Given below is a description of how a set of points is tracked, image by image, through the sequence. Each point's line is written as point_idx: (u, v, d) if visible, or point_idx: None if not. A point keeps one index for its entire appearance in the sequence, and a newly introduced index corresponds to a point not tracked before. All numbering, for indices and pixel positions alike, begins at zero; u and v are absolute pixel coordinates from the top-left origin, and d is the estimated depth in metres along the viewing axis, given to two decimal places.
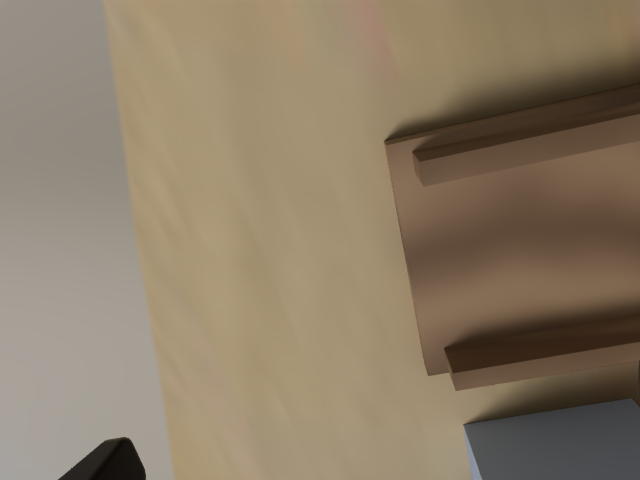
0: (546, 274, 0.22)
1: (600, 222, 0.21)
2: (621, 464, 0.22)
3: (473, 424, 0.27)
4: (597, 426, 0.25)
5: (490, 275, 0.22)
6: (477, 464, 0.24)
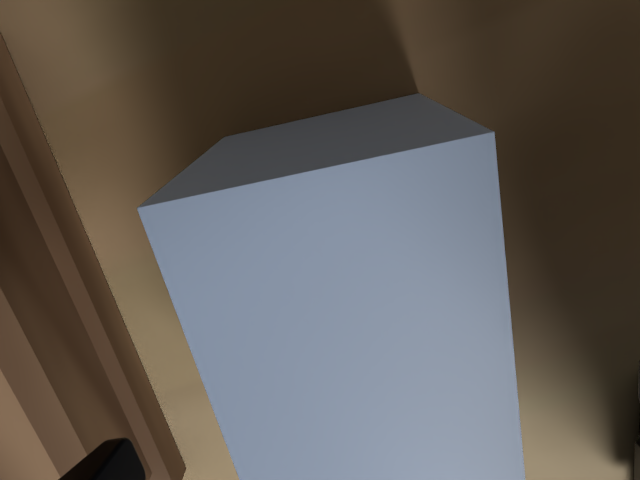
0: None
1: None
2: None
3: None
4: None
5: None
6: None
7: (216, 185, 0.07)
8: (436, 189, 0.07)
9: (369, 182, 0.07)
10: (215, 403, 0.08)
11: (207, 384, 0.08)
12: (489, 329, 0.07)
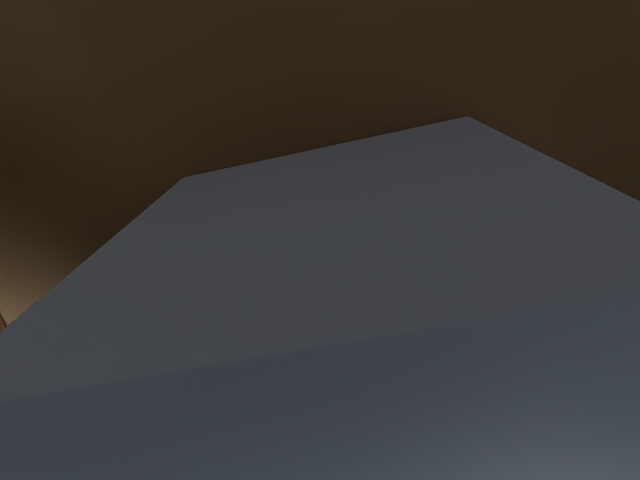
0: None
1: None
2: None
3: None
4: None
5: None
6: None
7: (91, 354, 0.03)
8: (604, 390, 0.03)
9: (442, 374, 0.03)
10: None
11: None
12: None
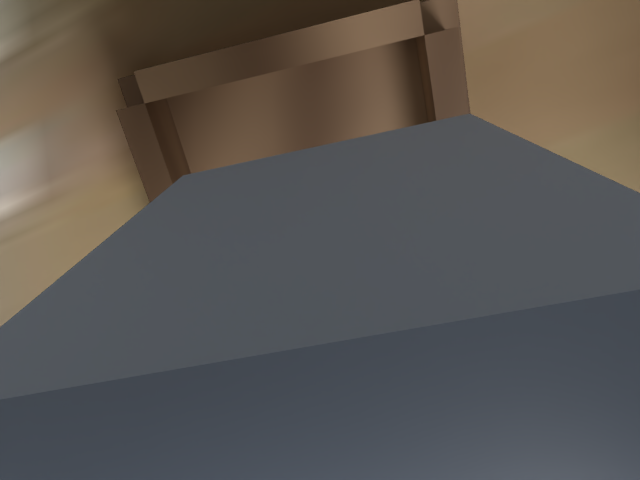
0: None
1: None
2: None
3: None
4: None
5: None
6: None
7: (89, 352, 0.03)
8: (612, 388, 0.03)
9: (446, 374, 0.03)
10: None
11: None
12: None
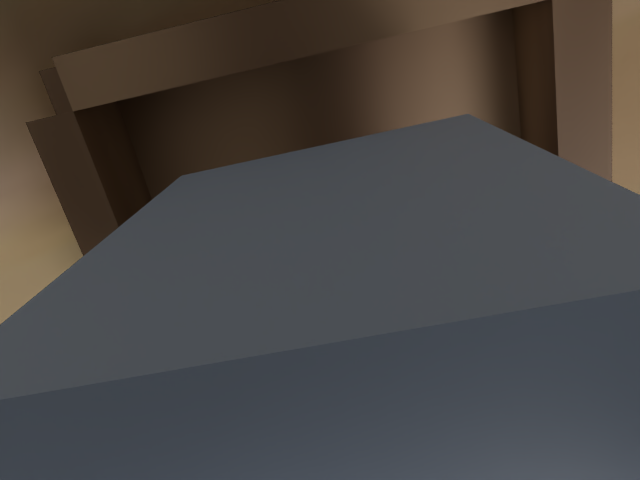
0: None
1: None
2: None
3: None
4: None
5: None
6: None
7: (84, 353, 0.03)
8: (608, 390, 0.03)
9: (443, 374, 0.03)
10: None
11: None
12: None
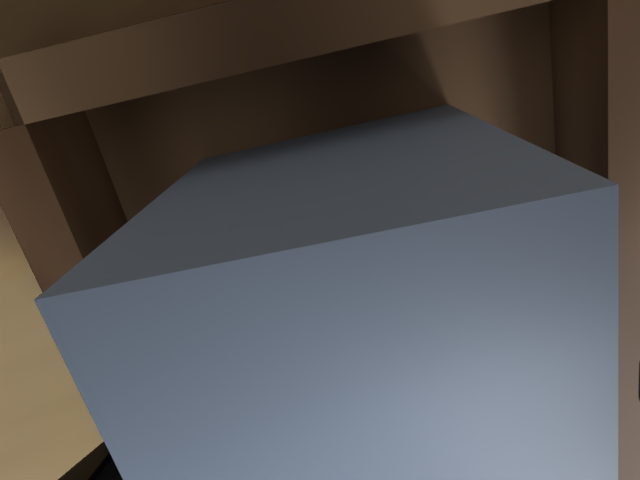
0: None
1: None
2: None
3: None
4: None
5: None
6: None
7: (163, 260, 0.04)
8: (515, 273, 0.04)
9: (406, 262, 0.04)
10: None
11: None
12: (583, 474, 0.05)
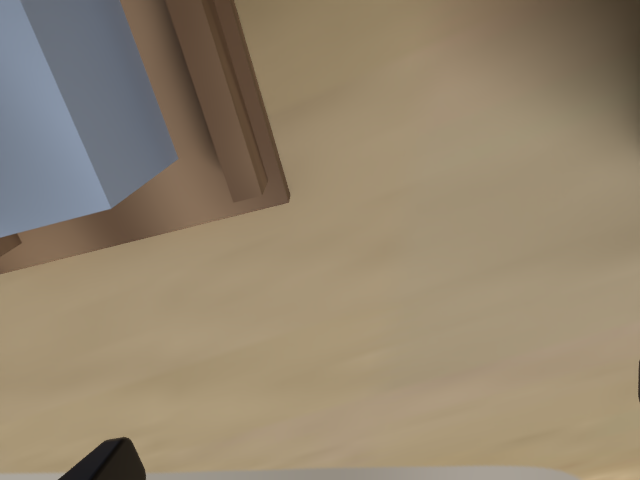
0: None
1: None
2: None
3: None
4: None
5: None
6: None
7: None
8: None
9: None
10: None
11: None
12: None
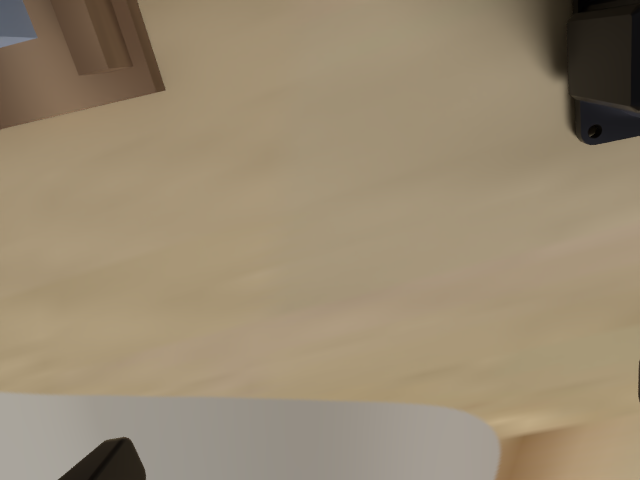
0: None
1: None
2: None
3: None
4: None
5: None
6: None
7: None
8: None
9: None
10: None
11: None
12: None
